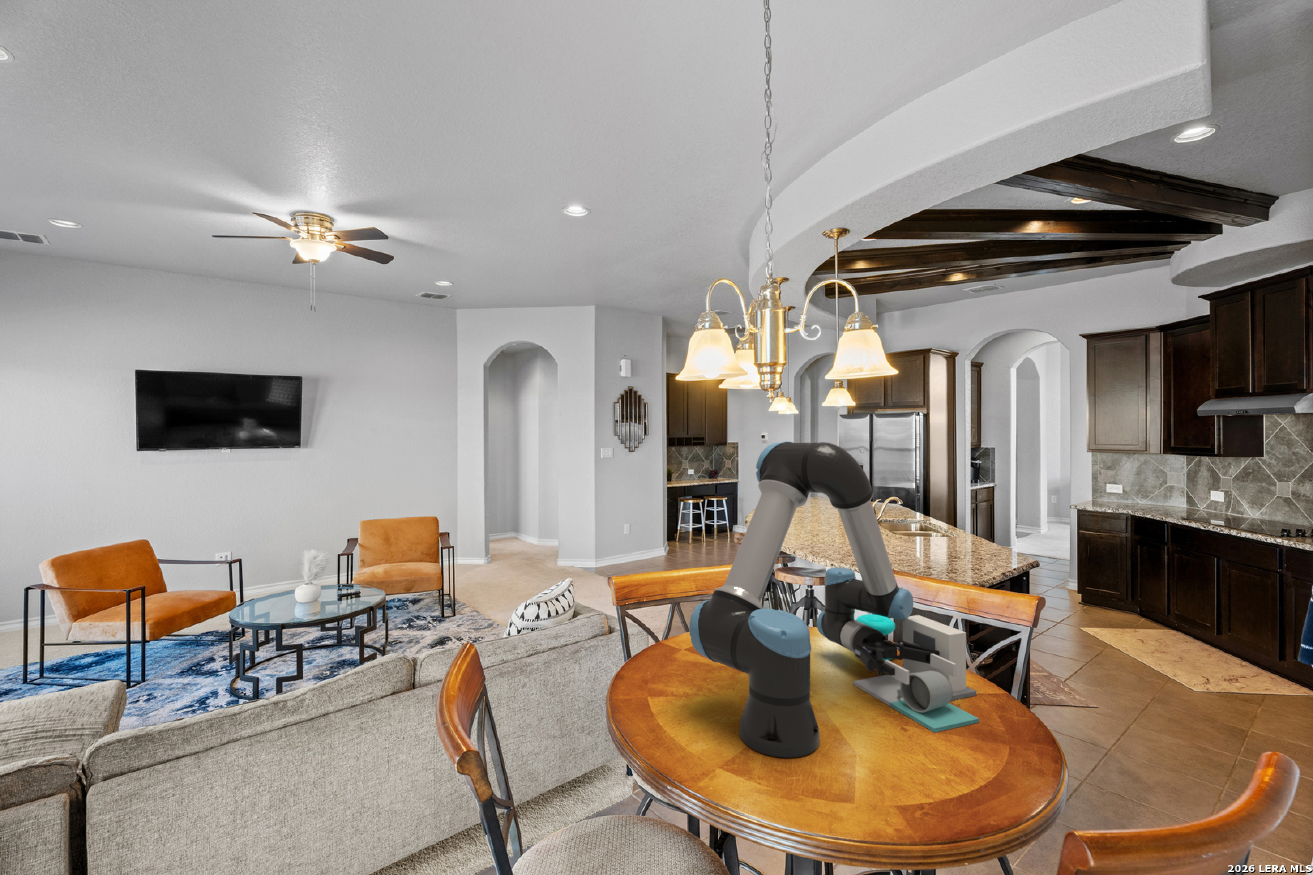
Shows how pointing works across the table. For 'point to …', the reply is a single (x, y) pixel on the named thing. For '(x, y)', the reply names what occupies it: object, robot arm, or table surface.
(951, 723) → the mat
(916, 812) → the table surface
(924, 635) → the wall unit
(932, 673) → the ceramic mug
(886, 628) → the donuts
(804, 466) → the robot arm
